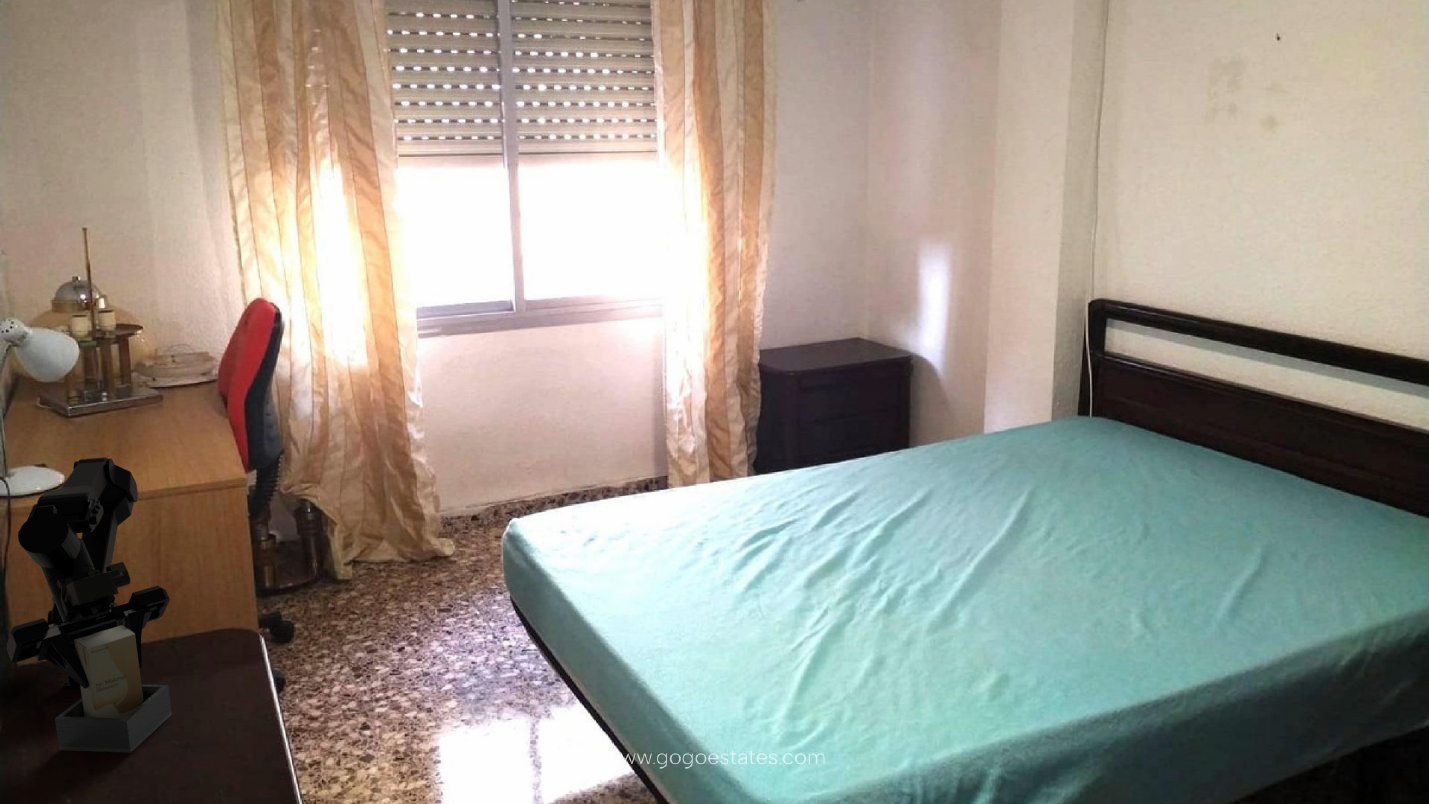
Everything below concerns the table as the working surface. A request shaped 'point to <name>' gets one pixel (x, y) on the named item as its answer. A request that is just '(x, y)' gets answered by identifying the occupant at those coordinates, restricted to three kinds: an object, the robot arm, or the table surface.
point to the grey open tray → (114, 724)
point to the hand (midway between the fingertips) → (113, 678)
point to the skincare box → (110, 673)
